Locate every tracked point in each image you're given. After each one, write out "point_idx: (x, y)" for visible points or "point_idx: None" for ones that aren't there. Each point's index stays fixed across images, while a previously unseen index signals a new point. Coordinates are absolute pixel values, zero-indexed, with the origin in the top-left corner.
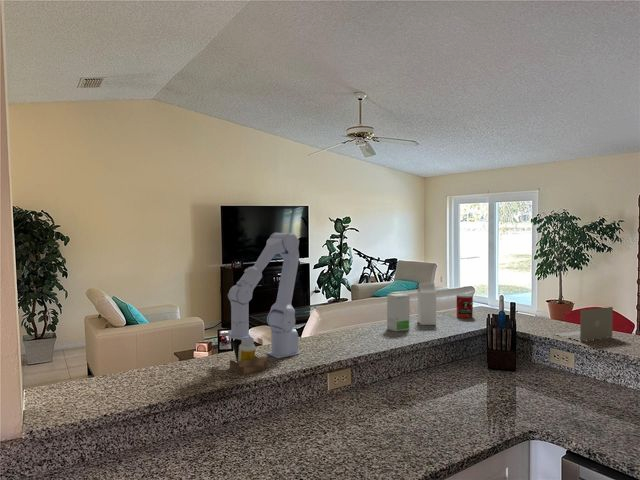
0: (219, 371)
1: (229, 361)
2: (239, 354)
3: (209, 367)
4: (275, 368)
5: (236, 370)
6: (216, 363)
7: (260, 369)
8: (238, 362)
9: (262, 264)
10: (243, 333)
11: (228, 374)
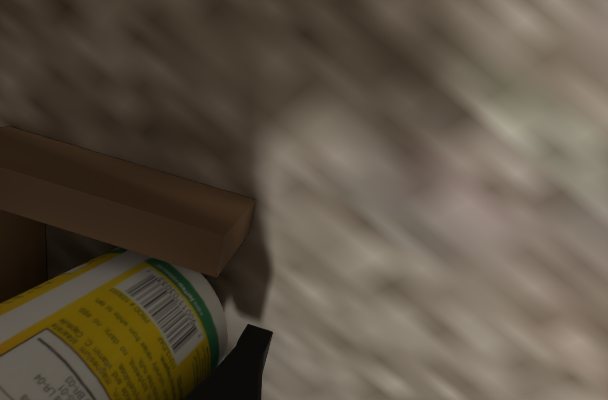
0: (260, 60)
1: (226, 232)
2: (4, 333)
3: (497, 78)
4: None
5: (79, 157)
6: (535, 237)
7: None
8: (131, 271)
9: None
10: None
11: (103, 61)
